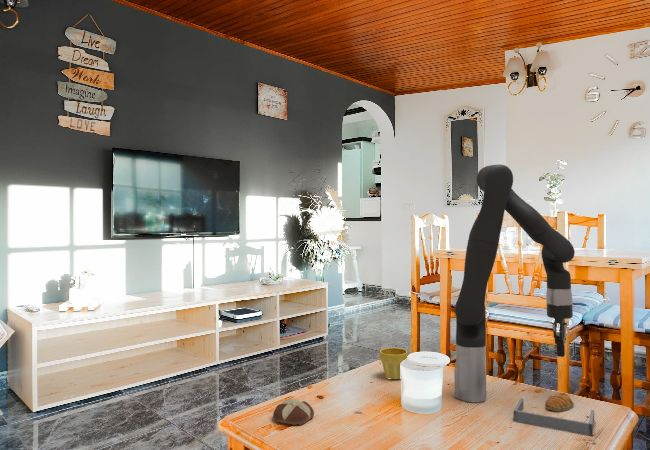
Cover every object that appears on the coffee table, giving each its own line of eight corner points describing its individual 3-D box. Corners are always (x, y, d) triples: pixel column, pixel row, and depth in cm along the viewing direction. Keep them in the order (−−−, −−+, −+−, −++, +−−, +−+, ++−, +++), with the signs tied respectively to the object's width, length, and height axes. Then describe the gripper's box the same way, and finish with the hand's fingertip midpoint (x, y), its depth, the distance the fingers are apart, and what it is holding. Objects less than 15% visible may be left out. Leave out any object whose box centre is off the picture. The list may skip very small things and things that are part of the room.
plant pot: (374, 378, 178) (374, 351, 178) (389, 371, 186) (389, 345, 186) (398, 384, 171) (398, 356, 171) (413, 376, 179) (413, 350, 179)
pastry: (561, 415, 142) (561, 402, 142) (539, 409, 147) (538, 396, 147) (575, 407, 148) (575, 394, 148) (553, 401, 153) (553, 389, 153)
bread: (290, 409, 150) (289, 392, 150) (319, 417, 144) (319, 400, 144) (265, 421, 141) (265, 404, 141) (296, 430, 135) (295, 412, 135)
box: (513, 421, 138) (513, 410, 138) (520, 408, 148) (520, 398, 148) (592, 436, 128) (592, 424, 128) (594, 420, 137) (594, 410, 137)
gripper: (549, 298, 164) (550, 350, 164) (543, 304, 153) (545, 359, 153) (574, 299, 160) (575, 352, 160) (570, 306, 149) (571, 362, 149)
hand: (560, 356), depth 156 cm, fingers closed
